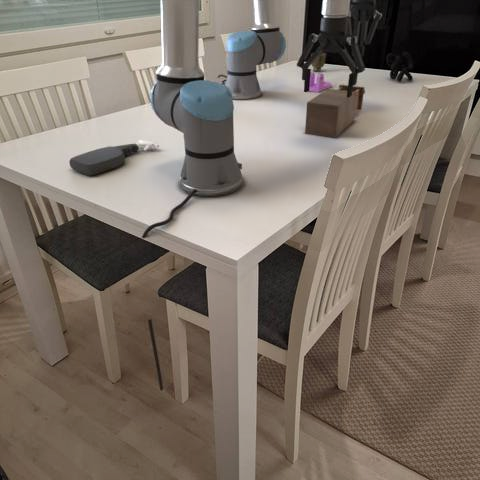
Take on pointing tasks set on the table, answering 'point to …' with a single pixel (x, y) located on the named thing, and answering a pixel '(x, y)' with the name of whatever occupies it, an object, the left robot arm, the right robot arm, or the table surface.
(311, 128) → the brown rectangular box
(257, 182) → the table surface
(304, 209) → the table surface
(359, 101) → the drawer
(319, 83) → the bracket
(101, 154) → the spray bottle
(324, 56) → the olive tapered piece
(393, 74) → the squiggle
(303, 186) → the table surface
